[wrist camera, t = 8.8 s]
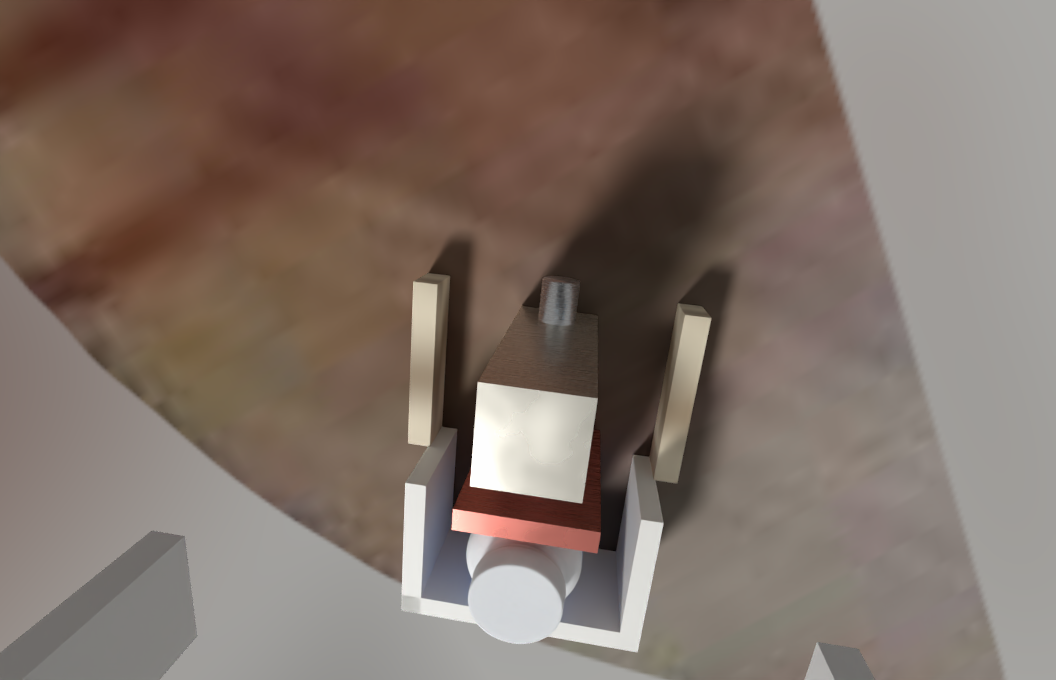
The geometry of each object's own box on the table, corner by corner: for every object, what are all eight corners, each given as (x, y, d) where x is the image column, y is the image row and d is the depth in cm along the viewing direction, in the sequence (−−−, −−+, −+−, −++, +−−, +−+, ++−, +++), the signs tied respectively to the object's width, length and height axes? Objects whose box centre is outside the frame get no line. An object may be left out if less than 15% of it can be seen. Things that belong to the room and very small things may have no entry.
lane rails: (427, 273, 29) (413, 281, 26) (701, 306, 27) (711, 318, 25) (421, 423, 31) (408, 443, 29) (671, 459, 30) (677, 483, 28)
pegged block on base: (506, 265, 28) (451, 320, 18) (622, 279, 27) (638, 344, 17) (491, 431, 31) (437, 562, 20) (597, 446, 30) (597, 589, 20)
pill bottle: (580, 527, 32) (573, 670, 23) (490, 515, 33) (448, 650, 23) (590, 444, 30) (586, 562, 21) (495, 432, 31) (451, 543, 22)
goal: (440, 426, 31) (405, 482, 26) (651, 457, 30) (663, 522, 24) (434, 536, 33) (401, 610, 28) (630, 568, 32) (637, 652, 27)
